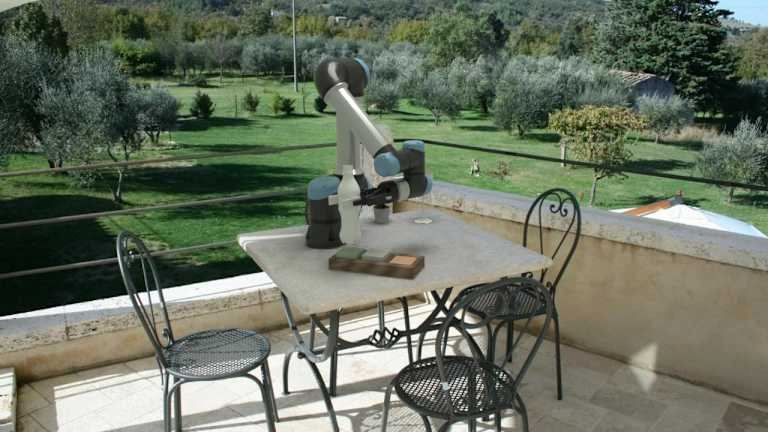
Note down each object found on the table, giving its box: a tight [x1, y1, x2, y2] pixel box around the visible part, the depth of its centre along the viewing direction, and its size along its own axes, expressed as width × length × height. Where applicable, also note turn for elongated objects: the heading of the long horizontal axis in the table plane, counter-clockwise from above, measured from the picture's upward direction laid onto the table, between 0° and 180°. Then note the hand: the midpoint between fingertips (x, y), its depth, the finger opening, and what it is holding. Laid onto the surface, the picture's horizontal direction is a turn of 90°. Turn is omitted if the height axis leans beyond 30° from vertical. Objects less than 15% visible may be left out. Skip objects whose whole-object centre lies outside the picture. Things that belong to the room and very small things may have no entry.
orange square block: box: [389, 255, 418, 265], centre depth 193 cm, size 7×7×3 cm
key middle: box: [362, 248, 392, 262], centre depth 195 cm, size 7×7×3 cm
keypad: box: [327, 249, 426, 280], centre depth 196 cm, size 28×12×4 cm, turn 69°
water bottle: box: [338, 165, 363, 246], centre depth 194 cm, size 7×7×25 cm
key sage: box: [335, 245, 366, 260], centre depth 199 cm, size 7×7×3 cm
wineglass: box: [413, 169, 434, 224], centre depth 246 cm, size 8×9×20 cm
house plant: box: [370, 183, 391, 224], centre depth 247 cm, size 14×14×16 cm
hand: (336, 202), depth 191 cm, fingers closed on water bottle, 7 cm apart
